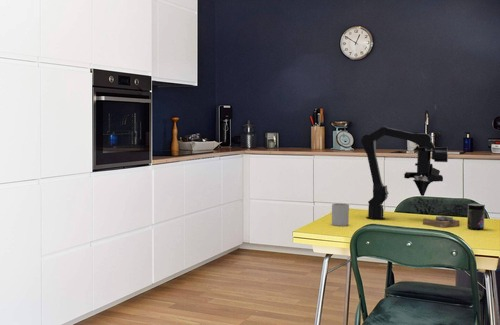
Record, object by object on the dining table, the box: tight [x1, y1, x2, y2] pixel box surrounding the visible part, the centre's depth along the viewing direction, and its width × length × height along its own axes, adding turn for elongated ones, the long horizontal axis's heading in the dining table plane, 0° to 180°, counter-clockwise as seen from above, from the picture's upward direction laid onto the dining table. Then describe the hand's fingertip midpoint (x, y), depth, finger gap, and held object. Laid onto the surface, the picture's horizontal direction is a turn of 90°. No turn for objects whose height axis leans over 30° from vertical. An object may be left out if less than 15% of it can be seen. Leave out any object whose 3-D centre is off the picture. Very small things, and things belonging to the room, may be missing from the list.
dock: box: [422, 217, 460, 229], centre depth 275 cm, size 10×11×3 cm
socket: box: [435, 215, 454, 221], centre depth 274 cm, size 5×5×4 cm
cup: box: [331, 203, 350, 227], centre depth 273 cm, size 7×10×9 cm
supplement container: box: [466, 203, 486, 231], centre depth 265 cm, size 7×7×10 cm
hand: (422, 195), depth 285 cm, fingers closed
